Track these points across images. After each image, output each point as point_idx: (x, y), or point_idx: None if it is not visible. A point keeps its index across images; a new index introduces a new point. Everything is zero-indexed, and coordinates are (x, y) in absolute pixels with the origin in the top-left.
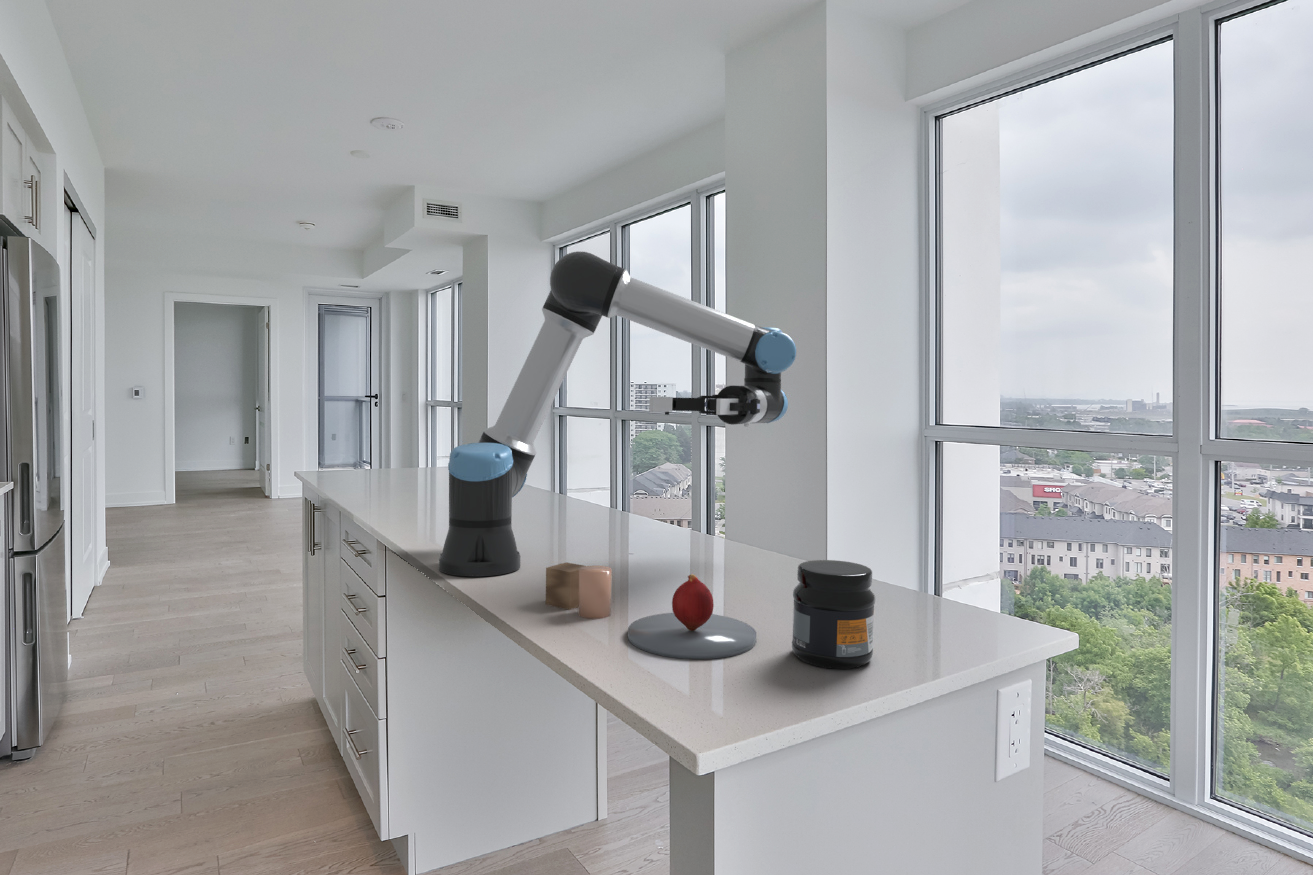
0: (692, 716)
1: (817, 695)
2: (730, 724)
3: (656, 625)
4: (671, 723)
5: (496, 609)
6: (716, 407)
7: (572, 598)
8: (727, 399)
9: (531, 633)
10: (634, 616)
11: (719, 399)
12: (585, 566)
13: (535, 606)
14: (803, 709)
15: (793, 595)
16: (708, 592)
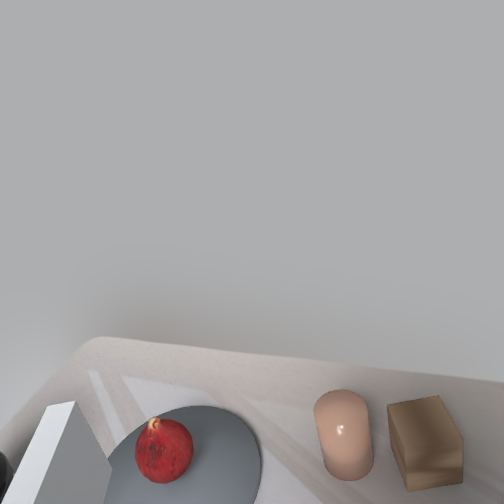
0: (107, 358)
1: (16, 441)
2: (79, 365)
3: (223, 455)
4: (116, 345)
5: (450, 381)
6: (96, 439)
7: (391, 440)
8: (6, 499)
9: (333, 367)
10: (296, 491)
11: (57, 409)
12: (365, 409)
13: None
14: (29, 413)
15: (8, 462)
16: (136, 444)
